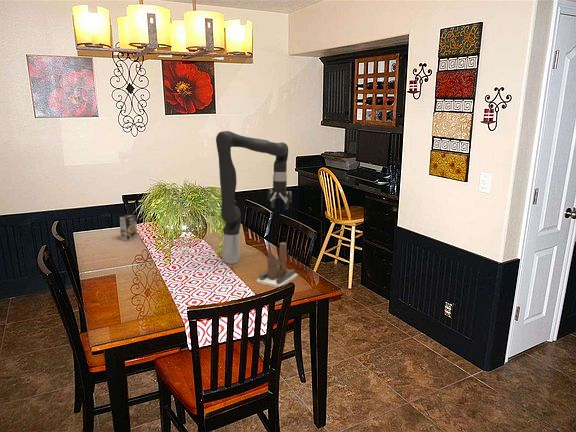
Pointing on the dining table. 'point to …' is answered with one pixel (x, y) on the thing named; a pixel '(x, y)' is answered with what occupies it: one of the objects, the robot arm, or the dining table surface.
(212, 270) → the dining table surface
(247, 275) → the dining table surface
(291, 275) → the slotted base
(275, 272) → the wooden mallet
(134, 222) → the coffee box
